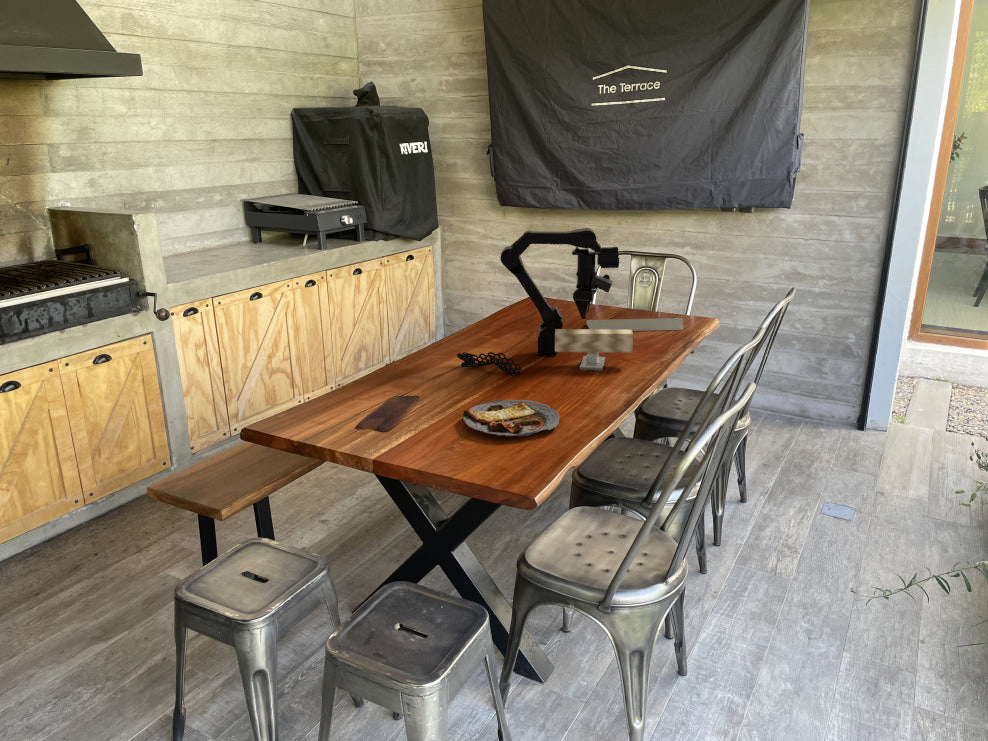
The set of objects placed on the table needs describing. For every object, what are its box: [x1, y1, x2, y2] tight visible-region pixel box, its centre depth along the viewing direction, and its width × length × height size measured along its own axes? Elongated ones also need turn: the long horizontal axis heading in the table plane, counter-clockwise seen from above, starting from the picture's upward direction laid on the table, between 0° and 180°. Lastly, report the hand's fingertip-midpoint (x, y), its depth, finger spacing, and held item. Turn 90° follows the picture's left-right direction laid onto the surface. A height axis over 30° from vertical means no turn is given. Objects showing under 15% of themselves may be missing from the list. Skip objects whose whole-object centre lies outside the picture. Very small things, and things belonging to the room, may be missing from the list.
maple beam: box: [555, 328, 634, 353], centre depth 236 cm, size 24×5×6 cm, turn 85°
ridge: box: [579, 352, 606, 372], centre depth 237 cm, size 7×12×5 cm, turn 167°
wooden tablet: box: [355, 395, 421, 433], centre depth 202 cm, size 26×2×10 cm
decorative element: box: [456, 351, 523, 376], centre depth 235 cm, size 22×5×6 cm, turn 60°
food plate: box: [461, 399, 561, 438], centre depth 193 cm, size 25×23×4 cm
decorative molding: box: [586, 317, 684, 332], centre depth 281 cm, size 34×5×10 cm
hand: (585, 315), depth 246 cm, fingers open, 9 cm apart
